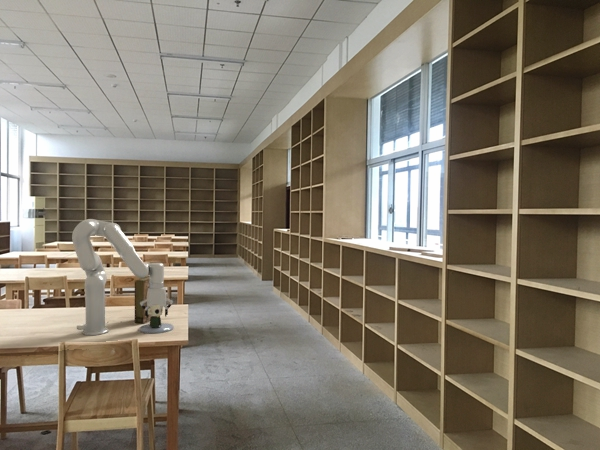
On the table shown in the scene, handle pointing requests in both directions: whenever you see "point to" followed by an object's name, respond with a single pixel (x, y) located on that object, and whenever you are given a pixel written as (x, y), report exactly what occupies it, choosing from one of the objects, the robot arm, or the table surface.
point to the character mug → (155, 315)
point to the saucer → (162, 329)
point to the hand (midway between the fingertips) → (156, 316)
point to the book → (141, 299)
